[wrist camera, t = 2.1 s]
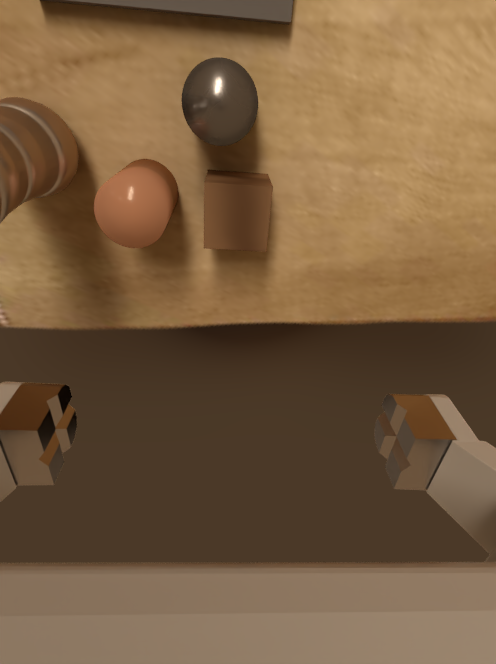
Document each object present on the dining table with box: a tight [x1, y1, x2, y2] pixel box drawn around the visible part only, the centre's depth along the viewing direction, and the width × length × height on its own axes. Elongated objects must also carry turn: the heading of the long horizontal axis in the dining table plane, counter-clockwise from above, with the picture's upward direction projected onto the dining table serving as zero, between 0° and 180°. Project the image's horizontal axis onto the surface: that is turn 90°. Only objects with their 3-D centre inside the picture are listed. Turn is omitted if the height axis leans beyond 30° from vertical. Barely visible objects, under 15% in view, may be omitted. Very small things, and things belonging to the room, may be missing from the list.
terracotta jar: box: [94, 159, 178, 248], centre depth 30 cm, size 5×5×7 cm
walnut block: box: [204, 170, 273, 252], centre depth 32 cm, size 5×5×5 cm
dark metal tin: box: [182, 58, 258, 146], centre depth 28 cm, size 5×5×5 cm
